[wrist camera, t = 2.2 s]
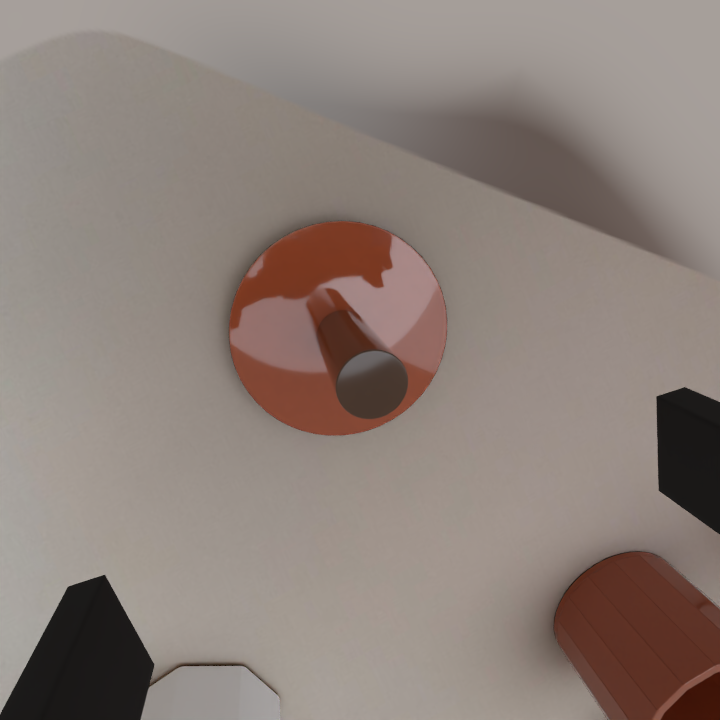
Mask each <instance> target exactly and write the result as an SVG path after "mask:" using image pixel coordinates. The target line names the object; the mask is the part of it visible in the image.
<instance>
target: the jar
mask: <svg viewBox="0 0 720 720" xmlns="http://www.w3.org/2000/svg"><path fill="white" fill-rule="evenodd" d="M554 633H555V638H556V640H557V643H558V645H559V646H560V648H561V649H562V651H563V653H564V655H565V657H566V658H567V660H568V661H569V663H570V664H571V666H572V667H573V669H574V670H575V672H576V673H577V675H578V676H579V678H580V679H581V681H582V682H583V684H584V685H585V687H586V688H587V690H588V691H589V693H590V694H591V696H592V697H593V699H594V700H595V702H596V703H597V705H598V706H599V708H600V709H601V711H602V712H603V714H604V715H605V716H606V718H607V719H608V720H720V607H719V606H718V605H717V604H716V603H715V602H714V601H712V600H711V599H710V598H709V597H708V596H707V595H706V594H704V593H703V592H702V591H701V590H700V589H699V588H698V587H696V586H695V585H694V584H693V583H692V582H691V581H690V580H688V579H687V578H686V577H685V576H684V575H683V574H682V573H680V572H679V571H678V570H677V569H676V568H674V567H673V566H672V565H670V564H669V563H668V562H667V561H666V560H664V559H663V558H661V557H659V556H657V555H655V554H652V553H647V552H628V553H622V554H619V555H615V556H612V557H610V558H607V559H605V560H603V561H601V562H599V563H597V564H596V565H594V566H593V567H591V568H590V569H588V570H587V571H586V572H585V573H583V574H582V575H581V576H580V577H579V578H578V579H577V580H576V581H575V582H574V583H573V584H572V585H571V586H570V588H569V589H568V590H567V592H566V593H565V595H564V596H563V598H562V600H561V602H560V604H559V606H558V609H557V611H556V615H555V620H554Z"/></svg>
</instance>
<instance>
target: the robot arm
mask: <svg viewBox="0 0 720 720" xmlns="http://www.w3.org/2000/svg"><path fill="white" fill-rule="evenodd" d="M657 437H658V479H659V491H660V492H661V493H663V494H664V495H666V496H667V497H668V498H670V499H671V500H673V501H674V502H675V503H677V504H678V505H680V506H681V507H682V508H684V509H685V510H687V511H688V512H689V513H691V514H692V515H693V516H695V517H696V518H698V519H699V520H700V521H702V522H703V523H705V524H706V525H707V526H709V527H710V528H712V529H713V530H714V531H716V532H717V533H719V534H720V402H718V401H716V400H714V399H711V398H709V397H706V396H704V395H702V394H699V393H697V392H695V391H692V390H690V389H688V388H685V387H684V388H681V389H678V390H675V391H672V392H669V393H666V394H663V395H660V396H657ZM153 668H154V663H153V661H152V660H151V658H150V656H149V654H148V652H147V650H146V649H145V647H144V645H143V643H142V641H141V640H140V638H139V636H138V634H137V632H136V631H135V629H134V627H133V625H132V623H131V621H130V620H129V618H128V616H127V614H126V612H125V611H124V609H123V607H122V605H121V603H120V601H119V600H118V598H117V596H116V594H115V592H114V591H113V589H112V587H111V585H110V583H109V581H108V580H107V578H106V576H105V575H103V576H100V577H97V578H93V579H90V580H87V581H84V582H81V583H78V584H75V585H72V586H69V587H68V588H67V590H66V592H65V594H64V596H63V597H62V599H61V601H60V603H59V605H58V607H57V609H56V611H55V612H54V614H53V616H52V618H51V620H50V622H49V624H48V626H47V627H46V629H45V631H44V633H43V635H42V637H41V639H40V641H39V642H38V644H37V646H36V648H35V650H34V652H33V654H32V656H31V657H30V659H29V661H28V663H27V665H26V667H25V669H24V671H23V672H22V674H21V676H20V678H19V680H18V682H17V684H16V686H15V688H14V689H13V691H12V693H11V695H10V697H9V699H8V701H7V703H6V704H5V706H4V708H3V710H2V712H1V714H0V720H141V716H142V712H143V708H144V704H145V700H146V696H147V692H148V688H149V684H150V680H151V676H152V672H153Z"/></svg>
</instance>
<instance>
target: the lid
mask: <svg viewBox="0 0 720 720" xmlns="http://www.w3.org/2000/svg"><path fill="white" fill-rule="evenodd" d="M446 336H447V314H446V306H445V302H444V298H443V294H442V291H441V288H440V286H439V283H438V281H437V279H436V277H435V275H434V273H433V272H432V270H431V268H430V267H429V265H428V264H427V263H426V262H425V260H424V259H423V258H422V256H421V255H420V254H419V253H418V252H417V251H416V250H415V249H414V248H413V247H411V246H410V245H409V244H407V243H406V242H405V241H403V240H402V239H401V238H399V237H397V236H396V235H394V234H392V233H390V232H388V231H386V230H383V229H381V228H378V227H376V226H373V225H368V224H364V223H360V222H350V221H330V222H323V223H317V224H312V225H309V226H306V227H303V228H300V229H298V230H296V231H294V232H292V233H290V234H288V235H286V236H284V237H282V238H281V239H279V240H278V241H276V242H275V243H273V244H272V245H271V246H270V247H268V248H267V249H266V250H265V251H264V252H263V253H262V254H261V255H260V256H259V257H258V258H257V259H256V261H255V262H254V263H253V264H252V265H251V267H250V268H249V270H248V271H247V273H246V274H245V276H244V278H243V279H242V281H241V283H240V286H239V288H238V290H237V292H236V295H235V298H234V301H233V305H232V308H231V314H230V321H229V342H230V350H231V355H232V359H233V362H234V366H235V368H236V371H237V373H238V375H239V378H240V380H241V381H242V383H243V385H244V386H245V388H246V390H247V391H248V393H249V394H250V395H251V396H252V397H253V399H254V400H255V401H256V402H257V403H258V404H259V405H260V406H261V407H262V408H263V409H264V410H265V411H266V412H268V413H269V414H270V415H272V416H273V417H275V418H276V419H277V420H279V421H281V422H283V423H285V424H287V425H289V426H291V427H294V428H296V429H299V430H302V431H305V432H309V433H314V434H320V435H348V434H356V433H360V432H364V431H368V430H370V429H373V428H376V427H378V426H381V425H383V424H385V423H387V422H389V421H391V420H392V419H394V418H395V417H397V416H398V415H400V414H401V413H403V412H404V411H405V410H406V409H408V408H409V407H410V406H411V405H412V404H413V403H414V402H415V401H416V400H417V399H418V398H419V397H420V396H421V395H422V394H423V392H424V391H425V389H426V388H427V387H428V385H429V384H430V382H431V381H432V379H433V377H434V375H435V373H436V372H437V369H438V367H439V364H440V362H441V359H442V356H443V352H444V348H445V343H446Z"/></svg>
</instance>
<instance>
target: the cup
mask: <svg viewBox="0 0 720 720" xmlns="http://www.w3.org/2000/svg"><path fill="white" fill-rule="evenodd" d="M141 720H280V699H279V696H278V695H277V694H276V693H274V692H273V691H272V690H271V689H270V688H269V687H268V686H266V685H265V684H264V683H263V682H262V681H261V680H260V679H259V678H257V677H256V676H255V675H254V674H253V673H252V672H251V671H249V670H248V669H247V668H246V667H243V666H182V667H179V668H177V669H176V670H174V671H173V672H171V673H170V674H168V675H167V676H165V677H164V678H162V679H161V680H159V681H158V682H156V683H155V684H153V685H152V686H150V687H149V688H148V692H147V696H146V700H145V704H144V708H143V712H142V716H141Z"/></svg>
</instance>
